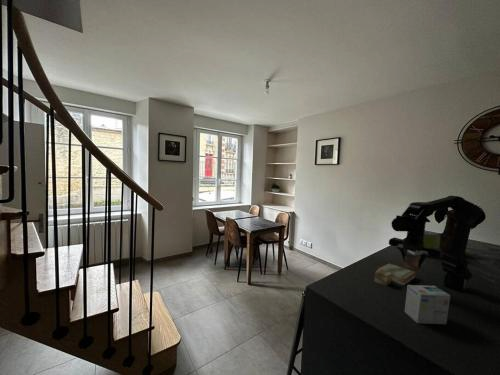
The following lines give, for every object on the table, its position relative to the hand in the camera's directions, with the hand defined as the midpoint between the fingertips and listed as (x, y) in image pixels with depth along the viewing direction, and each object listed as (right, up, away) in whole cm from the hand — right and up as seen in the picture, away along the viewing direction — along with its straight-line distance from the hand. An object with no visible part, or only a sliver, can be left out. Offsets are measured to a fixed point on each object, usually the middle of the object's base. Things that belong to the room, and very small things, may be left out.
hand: (412, 265), depth 98 cm
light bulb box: (-10, -12, -19) cm, 25 cm away
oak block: (-10, -10, +5) cm, 15 cm away
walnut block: (0, -1, 0) cm, 1 cm away
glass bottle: (+66, -11, +56) cm, 87 cm away
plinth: (+1, -10, +13) cm, 16 cm away
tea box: (+42, -10, +49) cm, 65 cm away
